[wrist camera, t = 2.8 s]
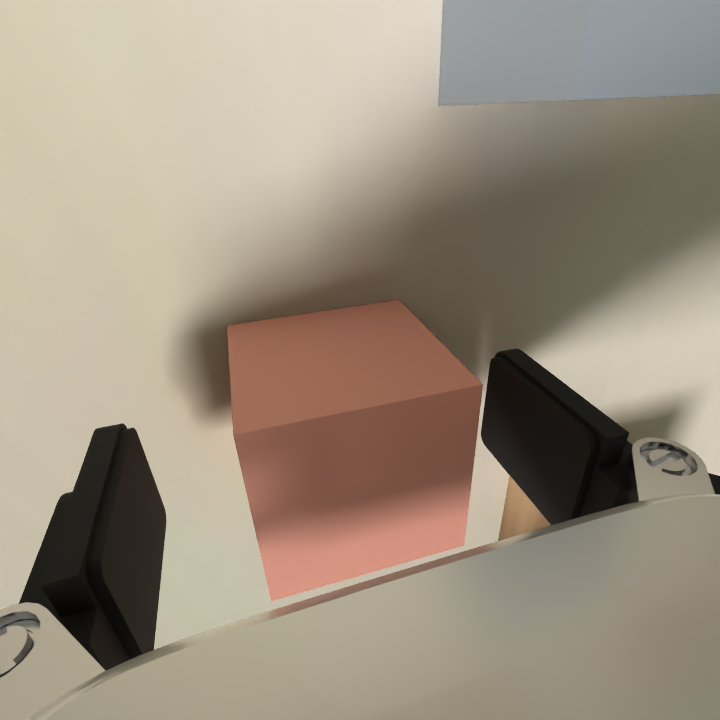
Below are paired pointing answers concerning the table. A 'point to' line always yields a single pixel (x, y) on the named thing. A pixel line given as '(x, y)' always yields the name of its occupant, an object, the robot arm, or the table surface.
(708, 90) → the slate block
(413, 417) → the pink cube
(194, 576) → the table surface
